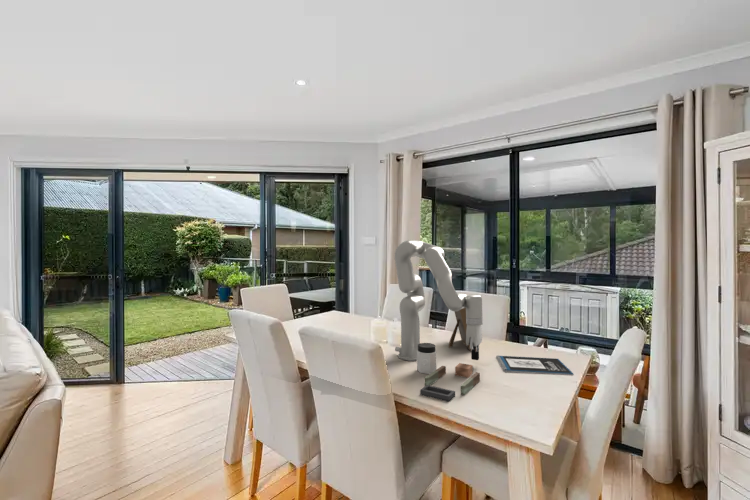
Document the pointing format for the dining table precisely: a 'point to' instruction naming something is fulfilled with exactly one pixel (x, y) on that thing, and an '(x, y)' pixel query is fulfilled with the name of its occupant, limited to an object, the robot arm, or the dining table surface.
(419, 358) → the jar
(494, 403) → the dining table surface
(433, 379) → the walled channel
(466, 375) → the terracotta block
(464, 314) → the photo frame
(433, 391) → the tray
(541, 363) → the sketchbook
